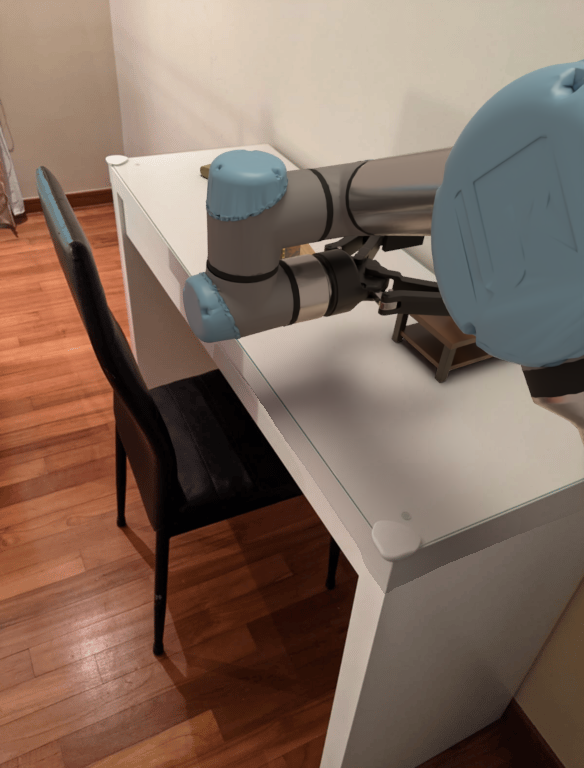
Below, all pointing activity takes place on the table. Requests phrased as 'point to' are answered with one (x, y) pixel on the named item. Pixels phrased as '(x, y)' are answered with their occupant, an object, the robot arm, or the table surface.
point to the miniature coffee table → (439, 342)
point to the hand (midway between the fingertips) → (455, 257)
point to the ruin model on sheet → (296, 251)
